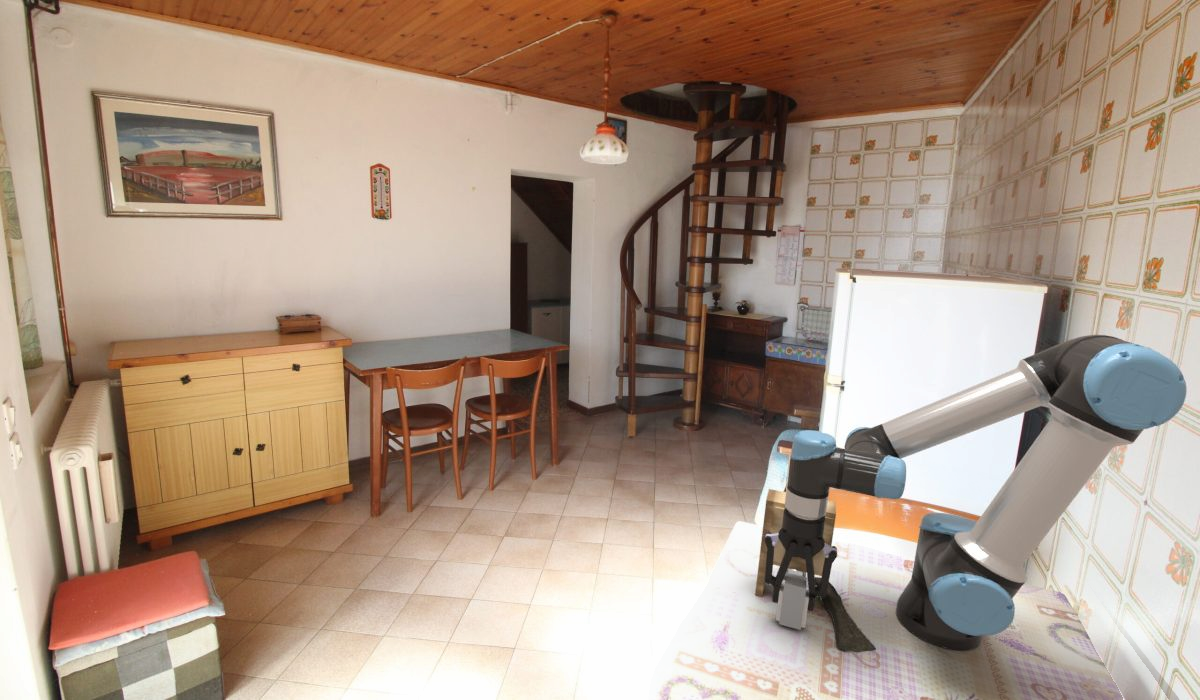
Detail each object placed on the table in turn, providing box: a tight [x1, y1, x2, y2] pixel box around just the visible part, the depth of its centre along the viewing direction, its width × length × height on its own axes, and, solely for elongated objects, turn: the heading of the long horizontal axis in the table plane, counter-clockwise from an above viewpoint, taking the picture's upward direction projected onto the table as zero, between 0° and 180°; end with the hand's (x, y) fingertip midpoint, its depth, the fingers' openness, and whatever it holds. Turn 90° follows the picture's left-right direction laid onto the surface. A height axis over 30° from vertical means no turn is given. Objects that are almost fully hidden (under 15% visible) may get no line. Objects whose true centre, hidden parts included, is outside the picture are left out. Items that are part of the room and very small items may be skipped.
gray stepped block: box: [778, 569, 808, 631], centre depth 120 cm, size 4×17×9 cm, turn 159°
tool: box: [815, 576, 877, 654], centre depth 118 cm, size 21×8×3 cm, turn 2°
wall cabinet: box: [754, 488, 837, 598], centre depth 122 cm, size 14×7×22 cm, turn 69°
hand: (790, 619), depth 115 cm, fingers closed on gray stepped block, 4 cm apart
